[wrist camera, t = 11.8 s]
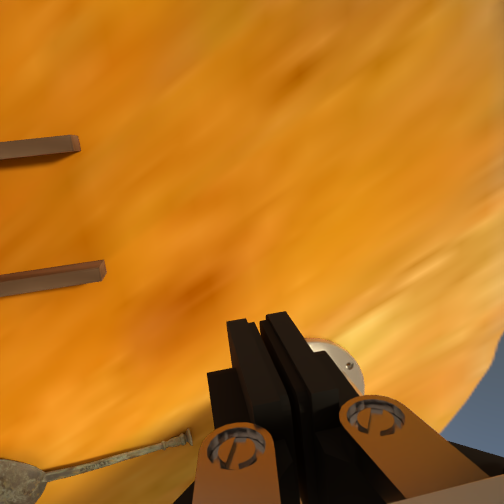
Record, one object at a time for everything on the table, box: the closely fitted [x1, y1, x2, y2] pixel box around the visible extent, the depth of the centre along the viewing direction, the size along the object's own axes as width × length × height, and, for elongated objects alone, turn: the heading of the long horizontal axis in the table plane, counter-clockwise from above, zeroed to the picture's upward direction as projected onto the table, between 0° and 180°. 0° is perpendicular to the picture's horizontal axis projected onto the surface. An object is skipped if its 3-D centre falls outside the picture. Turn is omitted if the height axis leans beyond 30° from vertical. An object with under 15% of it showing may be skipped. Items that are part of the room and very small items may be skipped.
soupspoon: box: [0, 428, 193, 504], centre depth 40 cm, size 22×3×7 cm
